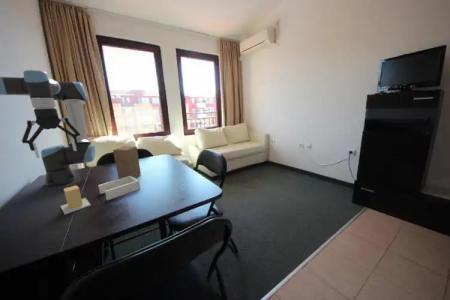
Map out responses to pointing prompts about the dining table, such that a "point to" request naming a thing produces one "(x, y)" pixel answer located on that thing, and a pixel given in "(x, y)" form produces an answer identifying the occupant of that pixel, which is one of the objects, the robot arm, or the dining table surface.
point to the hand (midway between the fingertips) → (57, 153)
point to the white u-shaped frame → (119, 187)
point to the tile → (68, 210)
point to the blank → (73, 197)
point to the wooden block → (127, 162)
